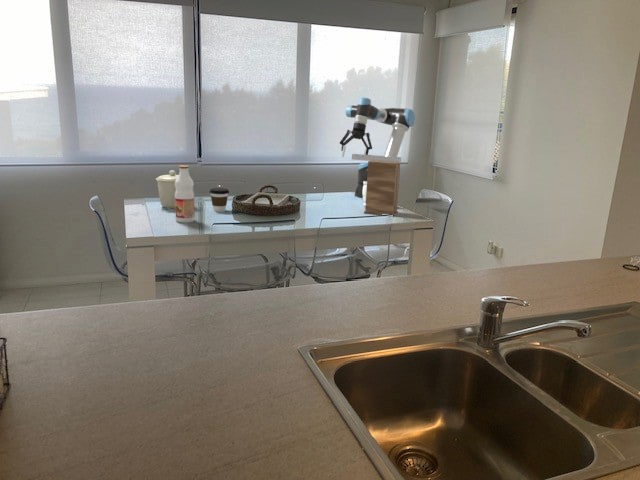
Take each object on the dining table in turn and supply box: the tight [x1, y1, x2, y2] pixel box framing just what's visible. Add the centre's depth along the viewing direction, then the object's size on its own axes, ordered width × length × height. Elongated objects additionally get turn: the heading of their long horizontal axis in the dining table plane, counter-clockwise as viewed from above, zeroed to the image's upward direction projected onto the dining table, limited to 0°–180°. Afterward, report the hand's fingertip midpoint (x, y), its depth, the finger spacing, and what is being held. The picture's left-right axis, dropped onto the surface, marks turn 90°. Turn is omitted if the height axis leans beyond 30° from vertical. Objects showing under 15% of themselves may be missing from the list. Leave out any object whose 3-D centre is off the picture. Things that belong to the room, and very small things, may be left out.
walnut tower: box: [363, 161, 401, 216], centre depth 307 cm, size 13×17×30 cm
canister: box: [155, 169, 179, 210], centre depth 301 cm, size 18×18×21 cm
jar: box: [362, 181, 367, 207], centre depth 331 cm, size 11×10×15 cm
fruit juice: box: [175, 164, 196, 224], centre depth 267 cm, size 9×9×28 cm
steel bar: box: [351, 153, 402, 164], centre depth 305 cm, size 4×28×3 cm, turn 70°
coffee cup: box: [208, 187, 230, 213], centre depth 298 cm, size 11×11×12 cm
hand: (353, 158), depth 324 cm, fingers open, 13 cm apart
